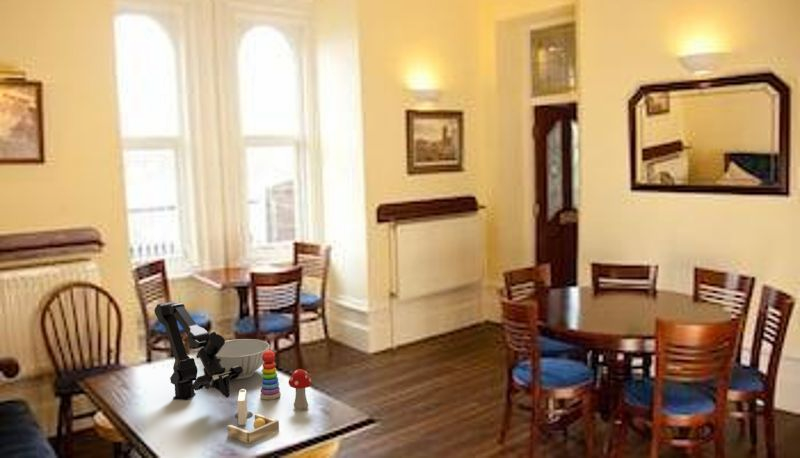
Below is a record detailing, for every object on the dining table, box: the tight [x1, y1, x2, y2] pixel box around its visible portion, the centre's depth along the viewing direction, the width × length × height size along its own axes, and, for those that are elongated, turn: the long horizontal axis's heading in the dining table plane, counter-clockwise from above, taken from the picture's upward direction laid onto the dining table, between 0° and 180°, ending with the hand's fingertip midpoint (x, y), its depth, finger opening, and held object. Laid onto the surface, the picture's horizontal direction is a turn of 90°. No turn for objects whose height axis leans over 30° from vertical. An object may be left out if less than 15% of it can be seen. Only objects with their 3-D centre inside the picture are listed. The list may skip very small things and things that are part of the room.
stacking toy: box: [259, 349, 281, 401], centre depth 268 cm, size 8×8×19 cm
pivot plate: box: [234, 410, 253, 419], centre depth 250 cm, size 6×6×1 cm
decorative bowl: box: [216, 338, 271, 380], centre depth 296 cm, size 27×27×12 cm
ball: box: [253, 418, 265, 429], centre depth 237 cm, size 4×4×4 cm
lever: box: [237, 388, 248, 426], centre depth 245 cm, size 2×11×9 cm, turn 10°
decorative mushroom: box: [288, 368, 313, 412], centre depth 256 cm, size 10×9×15 cm
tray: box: [227, 413, 280, 444], centre depth 235 cm, size 11×13×4 cm
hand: (228, 397), depth 249 cm, fingers closed
